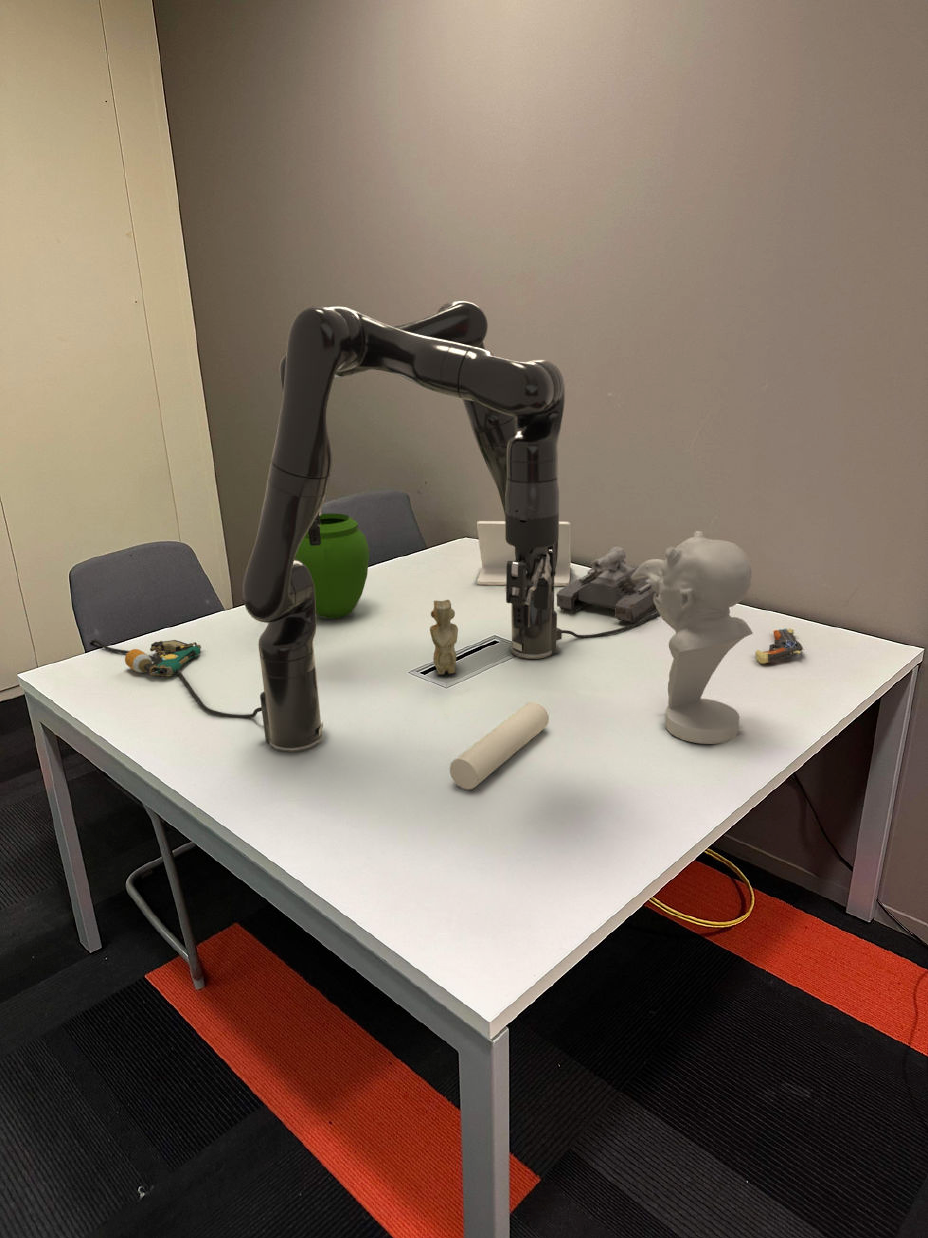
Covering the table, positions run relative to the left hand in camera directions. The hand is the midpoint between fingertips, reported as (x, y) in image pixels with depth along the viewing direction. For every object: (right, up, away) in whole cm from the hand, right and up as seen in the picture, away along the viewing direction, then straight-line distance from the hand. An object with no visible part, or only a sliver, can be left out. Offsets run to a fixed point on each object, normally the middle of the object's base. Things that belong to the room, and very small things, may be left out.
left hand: (531, 618), depth 125 cm
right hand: (-40, +16, +45) cm, 62 cm away
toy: (+28, +3, +89) cm, 94 cm away
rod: (-3, -24, +20) cm, 31 cm away
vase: (-42, +1, +89) cm, 98 cm away
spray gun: (-75, -10, +62) cm, 98 cm away
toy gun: (+58, -7, +60) cm, 84 cm away
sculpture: (-14, -11, +54) cm, 57 cm away
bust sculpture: (+30, -19, +30) cm, 46 cm away
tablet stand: (+7, +12, +114) cm, 115 cm away
